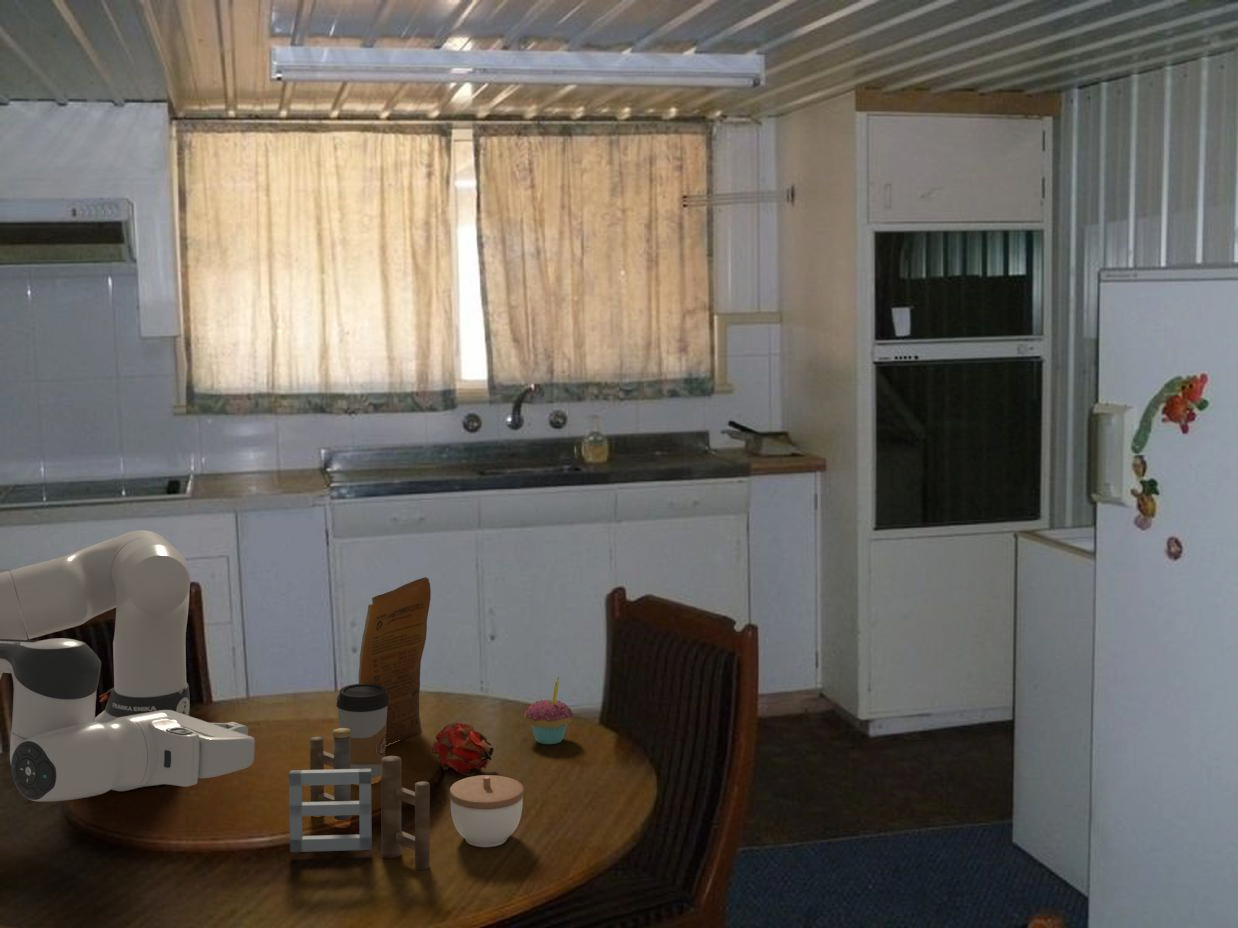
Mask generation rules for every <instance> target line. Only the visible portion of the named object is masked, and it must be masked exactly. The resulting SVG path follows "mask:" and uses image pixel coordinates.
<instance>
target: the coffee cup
mask: <svg viewBox="0 0 1238 928" xmlns="http://www.w3.org/2000/svg"><path fill="white" fill-rule="evenodd" d="M388 704H389V701H388V694H387V693H386V691H385V688H384V687H383V686H381V685H377V684H368V683H363V684H359V683H353V684H350V685H346V686H343V687H341V688H340V689H339V694H338V695H337V698H336V707H337V712H338V713H337V714H338V728H348V729H350V730H351V735H350V769H371V779H372V778H376V777H378V776H380V775H381V759H382V758H384V757H386V747H385V745H386V730H387V725H386V721H387V706H388Z"/></svg>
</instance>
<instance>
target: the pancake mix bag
mask: <svg viewBox="0 0 1238 928" xmlns="http://www.w3.org/2000/svg"><path fill="white" fill-rule="evenodd" d="M431 593H432V589H431V583H430V579H429V578H428V577H427V576H426V577H425V576H424V577H422V578H418V579H415V580H413V581H410V582H408V583H406V584H405V583H404V584H403V585H401V586H399V587H397V588H395V589H393V590H390V591H387V592H385V593H381V594H377V595H375V596H373V597H371V601H372V603H371V604H368V607H367V613H366V618H365V623H364V630H363V634H362V637H361V638H362V639H361V645H360V650H359V651H360V653H359V665H358V666H359V668H358V684H363V683H368V684H377V685H381V686H383V687H384V688H385V691H386V693H387V694H388V701H389V704H388V706H387V721H386V725H387V730H386V745H388V744H389V743H393V742H395V741H398V740H401V741H403V740H402V739H404V738H406V739H408V738H410V737H412V736H415V735H418V734H420V733H421V732H422V723H421V717H420V693H421V692H420V691H421V689H420V688H421V687H420V686H421V666H422V665H421V663H422V657H423V654H424V649H425V645H426V640H427V629H428V626H427V625H428V618H429V617H428V616H429V610H430V605H431V599H432V598H431V595H432V594H431ZM404 740H405V739H404Z"/></svg>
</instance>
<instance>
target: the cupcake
mask: <svg viewBox="0 0 1238 928" xmlns="http://www.w3.org/2000/svg"><path fill="white" fill-rule="evenodd" d="M559 678H560V676H557V679H556V680H555V682H554V687H553V696H552V700H550V699H544V700H543V699H541V700H536V701H535V702H533V703H532V704H530V705H529V706H528V707H527V709H525V713H524V717H523V720H524V721H525V722H526V723H527V724H528V725H530V727H531V730H532V732H533V736H534V739H535V741H536V742H537V743H538V744H543V745H555V744H559V743H561V742H562V741H563V738H564V735H565V734H566V733H565V732H566V730H567V728H568V725H569V724H571V723H572V719H573V718H574V712H573V711H572V710H571V708H570V707H569V706H568V705H567V704H566V703H565V702H562V701H560V700H558V699H557V697H558V693H559V692H558V691H559V684H560V681H559Z"/></svg>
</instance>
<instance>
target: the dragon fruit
mask: <svg viewBox="0 0 1238 928" xmlns="http://www.w3.org/2000/svg"><path fill="white" fill-rule="evenodd" d="M435 739H436V740H437V741H435V742H434V744H433V746H432V747H431V749H430V750H431V753H432V754H437V755H439V763H440V765H441V768H442V767H443V768H442V770H444V771H446V770H448V769H449V767H451V768H452V769H453V770H455V771H456V772H457V773H459V774H461V776H466V777H467V776H468V777H472V776H477V775H476V773H474V772H472V771H470V770H471V769H482V768H484V769H487V766H488V765H489V764H490V761H492V755H493V752H494V747H493V746H492V743H490V742H489V741H488V738H487V736H485V735H483V734H482V733H481V732H479V731H475V728H474V726H473V725H471V724H468V723H463V722H461V721H455V722H452V723H451V724H449V723H448V724H446V725H445V726H444V727H443V729H441V730H440V731H439V732H438V733H437V734H436V736H435ZM482 741H484V742H485V743H484V742H482ZM489 746H492V747H489Z"/></svg>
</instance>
